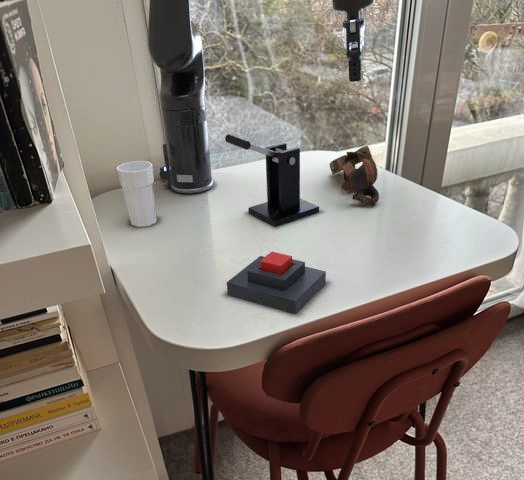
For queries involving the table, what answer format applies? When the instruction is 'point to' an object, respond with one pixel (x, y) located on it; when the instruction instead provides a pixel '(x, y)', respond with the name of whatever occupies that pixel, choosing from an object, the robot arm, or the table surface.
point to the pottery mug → (360, 178)
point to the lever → (252, 146)
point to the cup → (138, 191)
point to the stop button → (276, 263)
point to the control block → (277, 285)
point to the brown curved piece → (339, 162)
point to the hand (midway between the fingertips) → (355, 76)
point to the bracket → (283, 189)
